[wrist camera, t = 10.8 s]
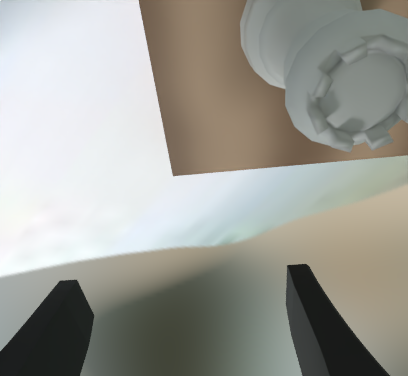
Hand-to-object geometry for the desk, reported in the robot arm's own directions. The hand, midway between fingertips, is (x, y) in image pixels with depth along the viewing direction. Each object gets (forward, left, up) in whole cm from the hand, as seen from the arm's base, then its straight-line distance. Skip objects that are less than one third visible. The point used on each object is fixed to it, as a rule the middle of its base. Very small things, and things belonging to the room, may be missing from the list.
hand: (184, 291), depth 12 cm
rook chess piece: (+5, +7, -8) cm, 11 cm away
